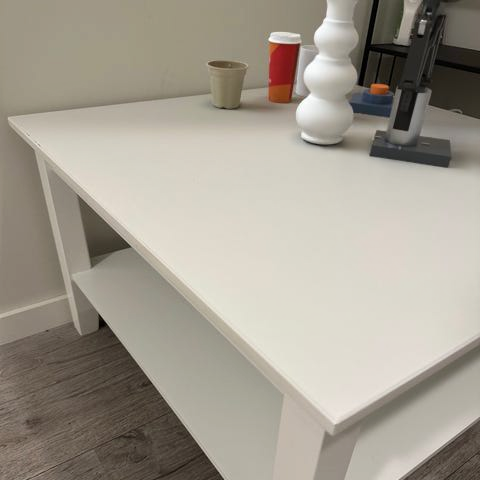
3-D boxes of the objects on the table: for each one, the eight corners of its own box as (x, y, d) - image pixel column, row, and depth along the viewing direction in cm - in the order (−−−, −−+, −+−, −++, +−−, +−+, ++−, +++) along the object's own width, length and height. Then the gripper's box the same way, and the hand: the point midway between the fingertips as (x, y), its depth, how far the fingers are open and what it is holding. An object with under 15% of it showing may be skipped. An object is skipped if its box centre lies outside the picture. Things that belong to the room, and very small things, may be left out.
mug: (295, 97, 120) (301, 49, 114) (295, 89, 126) (300, 44, 120) (344, 100, 120) (352, 53, 113) (341, 92, 126) (348, 47, 120)
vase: (292, 129, 99) (309, -18, 83) (345, 133, 99) (371, -14, 83) (294, 147, 90) (313, -14, 75) (352, 151, 90) (382, -10, 75)
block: (401, 108, 116) (406, 90, 114) (399, 119, 109) (404, 100, 106) (352, 102, 119) (355, 84, 116) (347, 112, 111) (350, 93, 109)
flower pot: (253, 105, 113) (256, 64, 107) (232, 113, 106) (234, 70, 101) (220, 98, 116) (221, 58, 111) (198, 106, 110) (197, 64, 104)
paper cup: (278, 94, 122) (284, 30, 113) (301, 101, 117) (309, 35, 109) (257, 98, 117) (261, 32, 108) (280, 106, 113) (286, 38, 104)
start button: (387, 93, 113) (389, 85, 112) (386, 97, 110) (388, 88, 109) (370, 91, 114) (372, 83, 113) (368, 94, 111) (370, 86, 110)
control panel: (447, 150, 93) (450, 138, 92) (448, 167, 85) (452, 155, 84) (374, 139, 96) (376, 128, 95) (368, 156, 88) (371, 144, 87)
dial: (389, 133, 93) (402, 81, 87) (420, 139, 91) (435, 86, 85) (381, 141, 89) (393, 87, 83) (413, 148, 87) (428, 93, 81)
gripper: (459, -27, 66) (413, 142, 80) (477, -29, 79) (435, 117, 94) (404, -31, 69) (370, 134, 83) (431, -33, 82) (397, 110, 96)
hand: (405, 124), depth 88 cm, fingers closed on dial, 6 cm apart
